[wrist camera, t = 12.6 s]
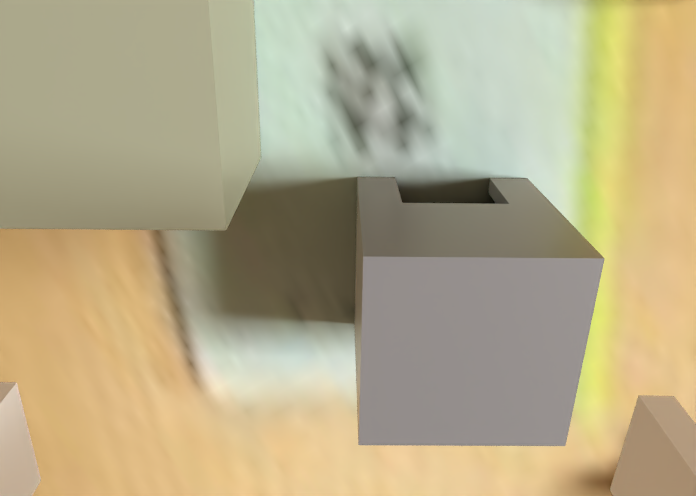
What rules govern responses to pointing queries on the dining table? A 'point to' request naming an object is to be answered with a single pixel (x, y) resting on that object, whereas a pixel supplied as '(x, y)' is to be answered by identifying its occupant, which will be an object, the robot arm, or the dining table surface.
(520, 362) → the slate cover
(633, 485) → the robot arm
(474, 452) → the dining table surface
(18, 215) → the olive cover
